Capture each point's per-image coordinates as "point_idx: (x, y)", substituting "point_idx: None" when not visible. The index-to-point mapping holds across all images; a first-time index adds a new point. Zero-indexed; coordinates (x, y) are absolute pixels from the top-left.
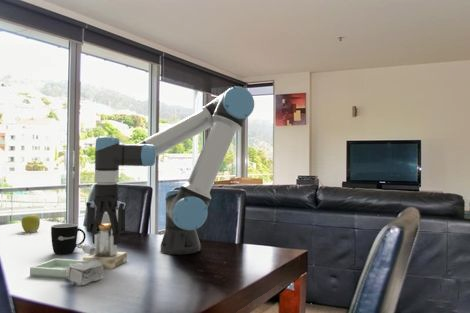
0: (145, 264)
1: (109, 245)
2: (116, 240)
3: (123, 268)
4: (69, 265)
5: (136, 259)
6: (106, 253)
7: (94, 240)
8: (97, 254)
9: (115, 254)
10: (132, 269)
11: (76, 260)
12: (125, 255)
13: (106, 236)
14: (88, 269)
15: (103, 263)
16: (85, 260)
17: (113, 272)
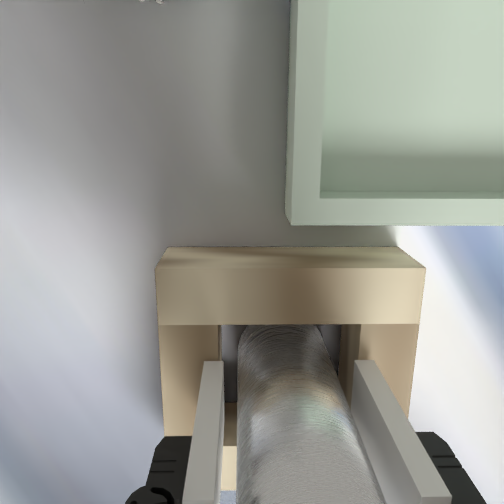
0: (9, 405)
1: (241, 425)
2: (156, 471)
3: (94, 283)
4: (486, 191)
5: None
6: (258, 364)
7: (430, 456)
8: None
9: None
10: (18, 275)
11: (452, 211)
12: None
13: (268, 478)
14: (289, 137)
15: (231, 258)
16: (393, 261)
17: (102, 172)
